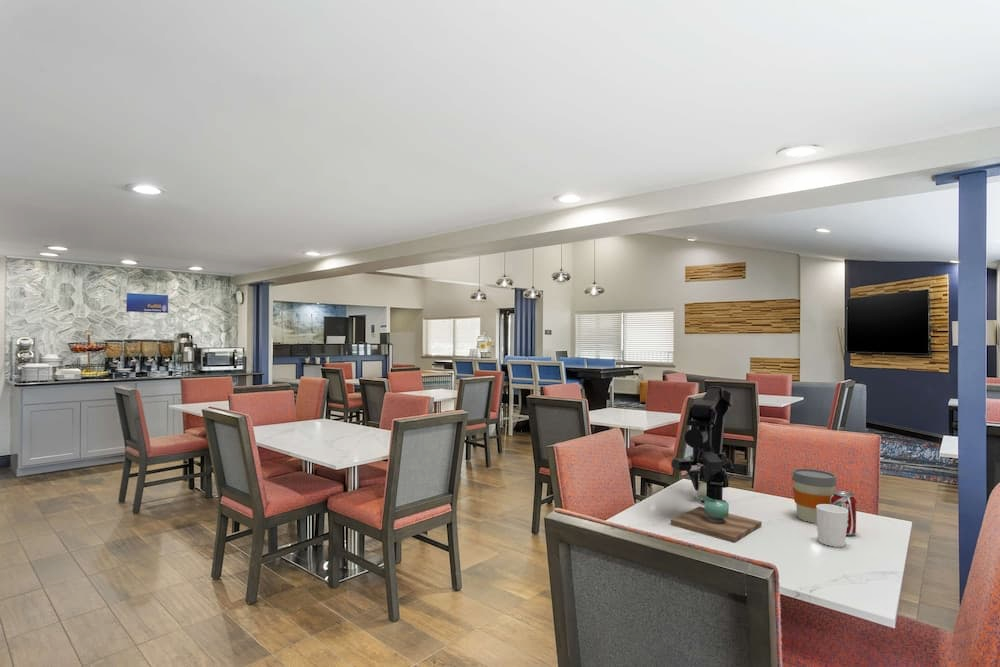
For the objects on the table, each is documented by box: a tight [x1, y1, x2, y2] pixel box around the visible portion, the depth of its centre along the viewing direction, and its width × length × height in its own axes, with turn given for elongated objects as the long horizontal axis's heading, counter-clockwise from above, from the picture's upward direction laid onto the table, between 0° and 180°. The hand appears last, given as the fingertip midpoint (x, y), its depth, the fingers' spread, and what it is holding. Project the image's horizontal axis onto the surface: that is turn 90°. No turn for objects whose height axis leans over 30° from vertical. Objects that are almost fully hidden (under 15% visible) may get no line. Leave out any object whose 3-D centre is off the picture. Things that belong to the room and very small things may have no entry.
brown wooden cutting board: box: [670, 505, 763, 543], centre depth 172 cm, size 20×20×3 cm
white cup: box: [816, 504, 848, 548], centre depth 159 cm, size 8×8×10 cm
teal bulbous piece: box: [696, 480, 730, 518], centre depth 176 cm, size 14×7×8 cm, turn 9°
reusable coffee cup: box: [792, 468, 837, 524], centre depth 180 cm, size 13×13×15 cm
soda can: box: [830, 490, 857, 536], centre depth 168 cm, size 7×7×12 cm
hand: (701, 490), depth 181 cm, fingers open, 3 cm apart
